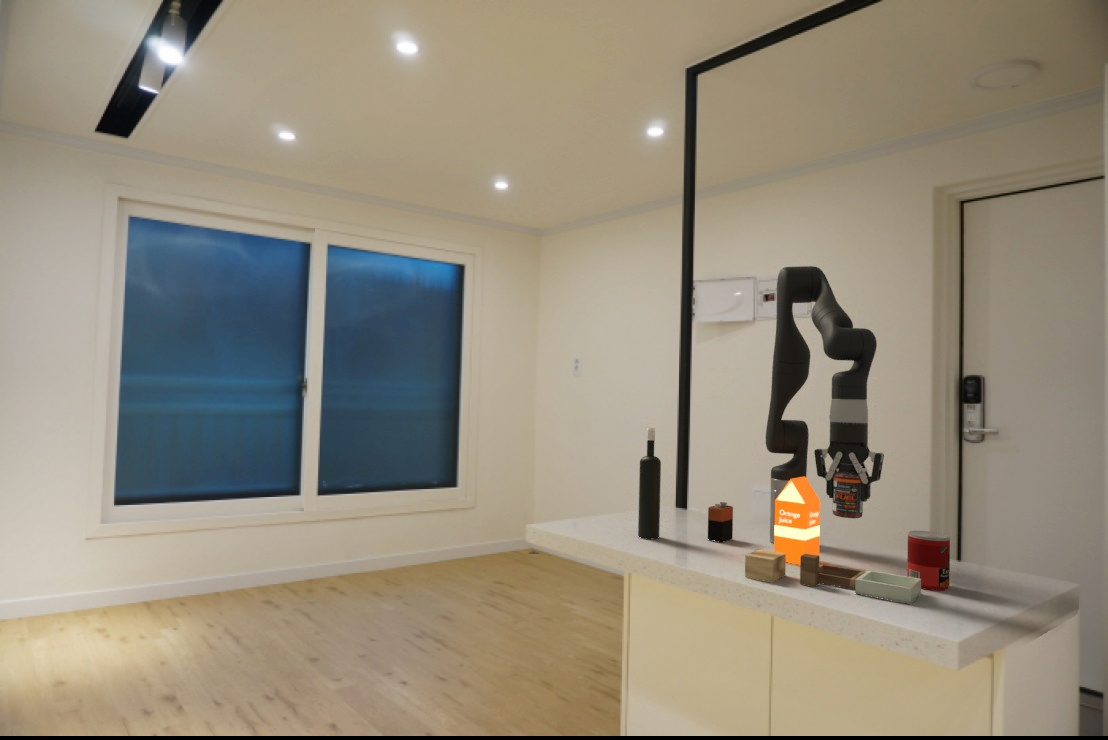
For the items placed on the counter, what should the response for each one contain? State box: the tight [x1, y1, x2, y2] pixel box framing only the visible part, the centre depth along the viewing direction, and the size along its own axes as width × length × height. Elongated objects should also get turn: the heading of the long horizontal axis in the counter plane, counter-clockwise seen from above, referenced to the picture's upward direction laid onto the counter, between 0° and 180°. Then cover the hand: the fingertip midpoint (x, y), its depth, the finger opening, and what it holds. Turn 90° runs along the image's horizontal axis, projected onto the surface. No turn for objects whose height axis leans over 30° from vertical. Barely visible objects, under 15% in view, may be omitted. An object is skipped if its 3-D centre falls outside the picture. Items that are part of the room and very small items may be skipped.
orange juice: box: [773, 476, 821, 566], centre depth 170 cm, size 8×9×20 cm
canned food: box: [906, 530, 951, 592], centre depth 150 cm, size 8×8×11 cm
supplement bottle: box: [832, 463, 864, 519], centre depth 150 cm, size 6×6×11 cm
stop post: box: [799, 553, 820, 588], centre depth 148 cm, size 3×3×6 cm
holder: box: [819, 563, 866, 590], centre depth 151 cm, size 9×9×2 cm
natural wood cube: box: [744, 548, 787, 583], centre depth 154 cm, size 8×6×5 cm
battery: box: [707, 501, 734, 543], centre depth 192 cm, size 4×7×10 cm, turn 139°
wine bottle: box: [637, 427, 662, 540], centre depth 193 cm, size 6×6×30 cm
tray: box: [854, 570, 922, 605], centre depth 142 cm, size 10×10×3 cm
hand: (847, 499), depth 149 cm, fingers closed on supplement bottle, 6 cm apart
